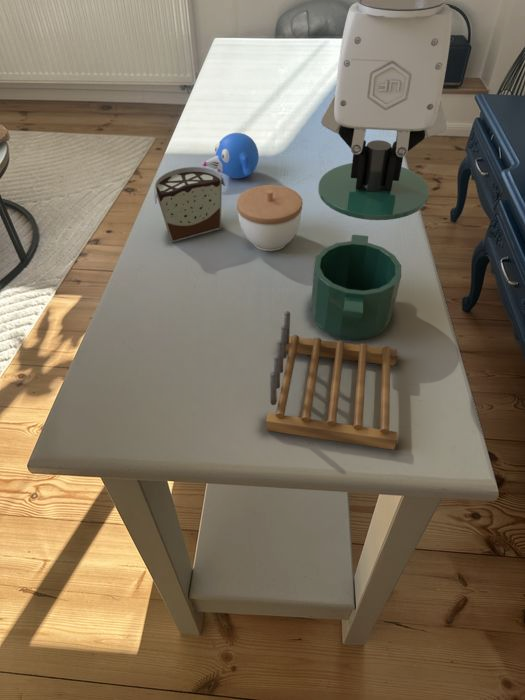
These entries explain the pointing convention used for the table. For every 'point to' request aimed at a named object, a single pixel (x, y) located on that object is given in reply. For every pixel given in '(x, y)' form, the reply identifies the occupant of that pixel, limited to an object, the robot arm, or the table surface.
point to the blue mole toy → (235, 156)
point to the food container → (190, 201)
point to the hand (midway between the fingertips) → (373, 183)
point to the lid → (373, 188)
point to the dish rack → (331, 428)
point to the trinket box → (269, 216)
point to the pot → (354, 289)
